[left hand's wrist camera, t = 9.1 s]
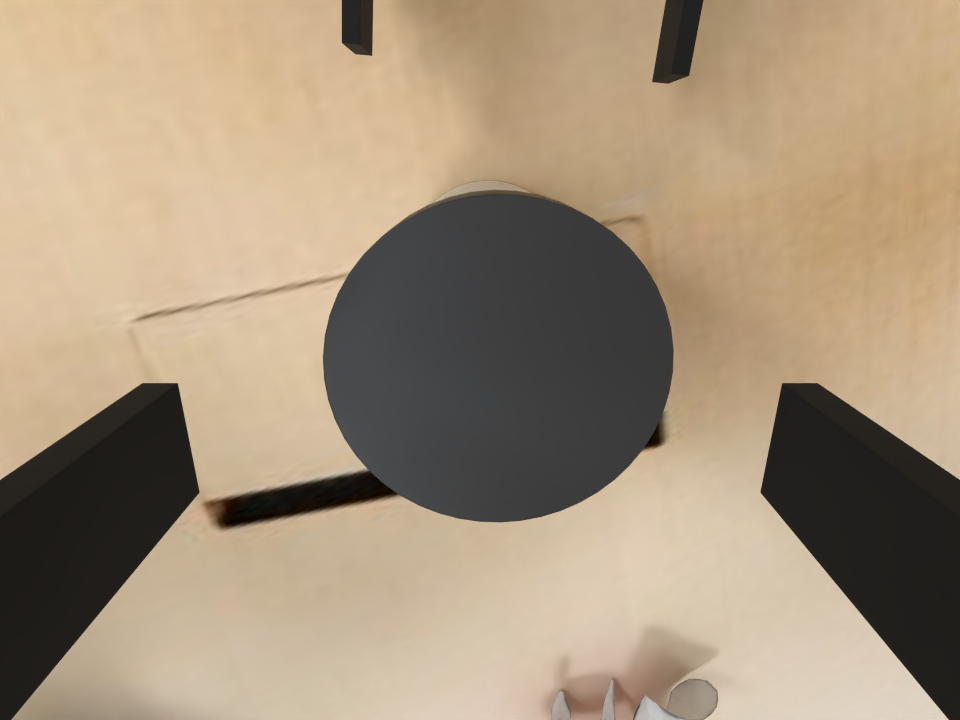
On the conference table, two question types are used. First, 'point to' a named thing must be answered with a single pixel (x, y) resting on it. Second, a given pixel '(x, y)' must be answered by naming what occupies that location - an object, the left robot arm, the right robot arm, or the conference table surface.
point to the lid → (498, 357)
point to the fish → (682, 710)
